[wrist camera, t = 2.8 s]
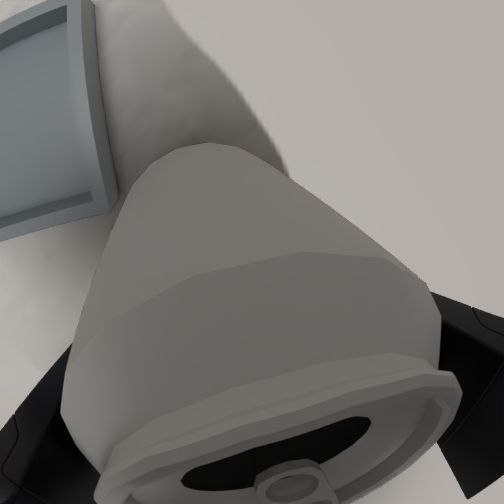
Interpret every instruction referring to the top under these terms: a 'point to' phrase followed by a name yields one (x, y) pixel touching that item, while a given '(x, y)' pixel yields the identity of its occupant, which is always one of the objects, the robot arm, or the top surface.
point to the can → (249, 345)
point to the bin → (52, 120)
